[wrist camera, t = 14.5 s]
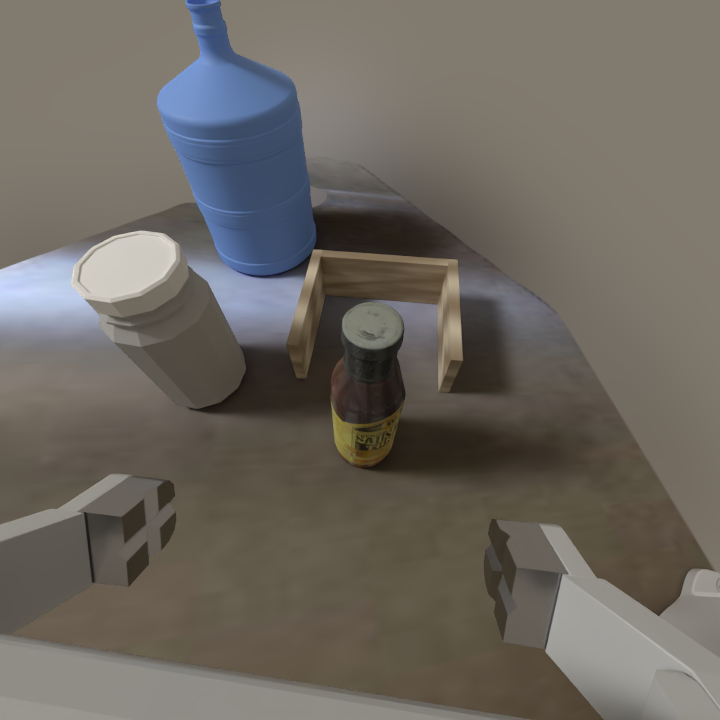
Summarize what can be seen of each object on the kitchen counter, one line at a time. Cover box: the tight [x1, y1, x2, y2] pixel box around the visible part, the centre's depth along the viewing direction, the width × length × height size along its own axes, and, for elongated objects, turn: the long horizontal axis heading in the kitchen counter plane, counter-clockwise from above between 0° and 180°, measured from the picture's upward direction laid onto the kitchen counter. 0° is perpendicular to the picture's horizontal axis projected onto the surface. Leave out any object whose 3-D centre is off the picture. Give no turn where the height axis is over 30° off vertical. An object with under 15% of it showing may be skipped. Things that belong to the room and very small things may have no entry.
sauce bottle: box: [331, 302, 405, 468], centre depth 30 cm, size 7×6×20 cm
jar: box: [71, 231, 246, 409], centre depth 36 cm, size 10×10×18 cm
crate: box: [286, 249, 463, 393], centre depth 43 cm, size 15×18×7 cm
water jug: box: [157, 0, 316, 275], centre depth 45 cm, size 16×16×28 cm
